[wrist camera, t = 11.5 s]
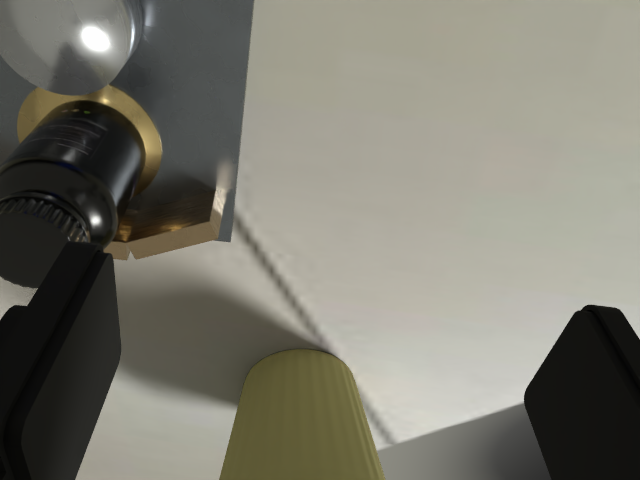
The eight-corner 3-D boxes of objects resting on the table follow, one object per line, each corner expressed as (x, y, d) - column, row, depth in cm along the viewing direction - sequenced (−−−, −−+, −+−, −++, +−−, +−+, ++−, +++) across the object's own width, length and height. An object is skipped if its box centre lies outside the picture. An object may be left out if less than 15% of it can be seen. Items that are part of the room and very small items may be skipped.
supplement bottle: (154, 189, 38) (110, 306, 28) (55, 187, 38) (-24, 306, 28) (141, 96, 34) (83, 197, 24) (29, 93, 33) (-74, 193, 24)
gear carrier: (257, -38, 31) (253, -19, 27) (232, 230, 43) (225, 275, 38) (-110, -105, 29) (-183, -96, 24) (-33, 201, 40) (-73, 245, 35)
